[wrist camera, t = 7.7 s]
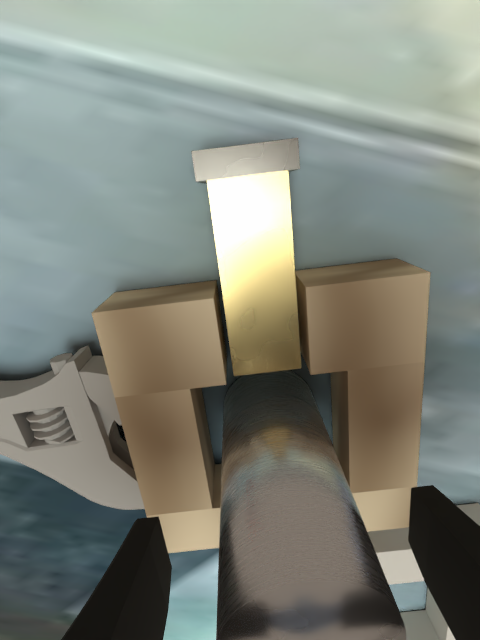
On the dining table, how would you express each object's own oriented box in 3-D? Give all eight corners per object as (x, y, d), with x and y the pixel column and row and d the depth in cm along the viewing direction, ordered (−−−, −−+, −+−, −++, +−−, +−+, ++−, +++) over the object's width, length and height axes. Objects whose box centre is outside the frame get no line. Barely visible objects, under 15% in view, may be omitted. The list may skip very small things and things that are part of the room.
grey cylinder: (311, 361, 15) (410, 571, 7) (315, 439, 17) (403, 694, 8) (217, 372, 15) (202, 594, 7) (229, 448, 17) (229, 712, 8)
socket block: (396, 258, 14) (430, 272, 12) (389, 481, 18) (414, 526, 15) (114, 292, 14) (91, 312, 12) (166, 506, 18) (157, 554, 15)
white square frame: (477, 502, 18) (506, 538, 16) (460, 630, 22) (481, 672, 20) (281, 524, 18) (286, 562, 17) (293, 647, 22) (299, 690, 20)
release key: (285, 147, 12) (298, 137, 10) (298, 342, 15) (311, 370, 13) (198, 158, 12) (191, 151, 10) (226, 351, 15) (225, 379, 13)
